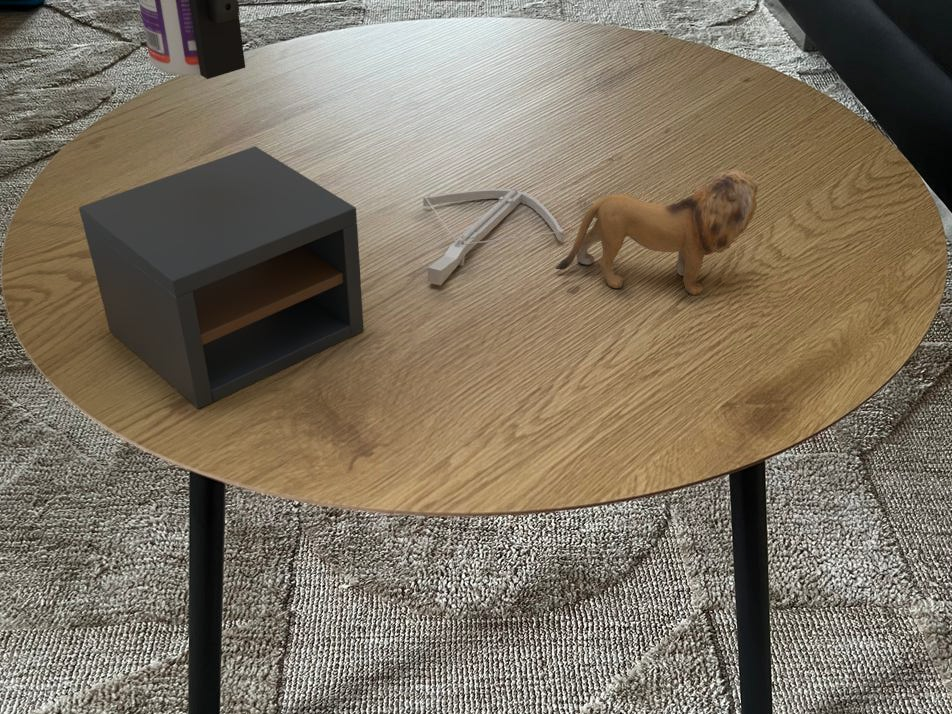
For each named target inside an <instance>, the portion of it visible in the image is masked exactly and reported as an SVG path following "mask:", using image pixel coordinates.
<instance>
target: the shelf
mask: <svg viewBox="0 0 952 714" xmlns="http://www.w3.org/2000/svg"><path fill="white" fill-rule="evenodd" d="M78 210H79V214H80V218H81V222H82V227H83V231H84V234H85V237H86V242H87V245H88V250H89V253H90V258H91V261H92V265H93V269H94V270H93V271H94V275H95V277H96V282H97V285H98V290H99V294H100V298H101V301H102V305H103V309H104V313H105V317H106V321H107V325H108V330H109V332H110V333H111V334H112V335H114V337H116V338H117V339H118V340H119V341H120V342H122V343H123V344H124V346H126V347H127V348H128V349H129V350H130V351H132V352H133V353H134V354H135V355H136V356H137V357H139V358H140V359H141V360H142V361H143V362H144V363H145V364H146V365H148V366H149V368H151V369H152V370H153V371H155V372H156V373H157V374H158V375H159V376H160V377H161V378H162V379H163V380H165V382H167V383H168V384H170V386H172V388H173V389H175V390H176V391H177V392H178V393H179V394H180V395H182V396H183V397H184V398H185V399H186V400H187V401H189V402H190V403H191V404H192V405H193V406H194V407H195V408H196V409H198V410H200V409H202V408H204V407H206V406H209V405H210V404H212V403H215V402H217V401H219V400H221V399H223V398H225V397H228V396H230V395H232V394H234V393H236V392H238V391H240V390H242V389H245V388H246V387H249V386H251V385H253V384H255V383H257V382H259V381H261V380H263V379H266V378H267V377H269V376H272V375H274V374H276V373H278V372H280V371H282V370H284V369H286V368H289V367H290V366H294V365H295V364H296V363H299V362H301V361H304V360H305V359H308V358H310V357H311V356H313V355H316V354H317V353H320V352H322V351H324V350H326V349H328V348H330V347H332V346H335V345H337V344H339V343H341V342H343V341H345V340H347V339H349V338H351V337H354V336H355V335H358V334H361V333H362V332H364V331H365V329H364V328H365V327H364V314H363V313H364V312H363V298H362V297H363V296H362V295H363V294H362V281H361V280H362V279H361V265H360V264H361V263H360V251H359V250H360V248H359V231H358V230H359V229H358V218H357V208H356V207H355V206H354V205H352V204H351V203H349V202H347V201H346V200H344V199H343V198H341V197H339V196H338V195H336V194H334V193H333V192H331V191H329V190H328V189H326V188H325V187H323V186H321V185H320V184H318V183H316V182H315V181H313V180H312V179H310V178H309V177H306V176H305V175H303V174H301V173H300V172H298V171H297V170H295V169H294V168H292V167H290V166H288V165H287V164H285V163H284V162H282V161H280V160H279V159H277V158H276V157H274V156H272V155H271V154H269V153H267V152H266V151H264V150H262V149H260V148H259V147H257V146H251V147H248V148H246V149H243V150H240V151H238V152H234V153H231V154H229V155H225V156H223V157H220V158H217V159H214V160H211V161H209V162H206V163H203V164H200V165H196V166H194V167H191V168H187V169H185V170H183V171H180V172H176V173H173V174H170V175H168V176H165V177H161V178H159V179H156V180H154V181H150V182H147V183H144V184H142V185H139V186H137V187H133V188H129V189H127V190H125V191H122V192H118V193H116V194H113V195H110V196H107V197H104V198H101V199H99V200H95V201H92V202H89V203H87V204H84V205H81V206H79V207H78Z"/></svg>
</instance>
